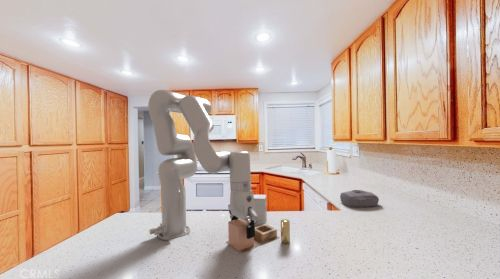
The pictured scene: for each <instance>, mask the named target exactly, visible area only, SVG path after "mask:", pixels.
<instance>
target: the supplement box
mask: <svg viewBox="0 0 500 279" xmlns="http://www.w3.org/2000/svg"><path fill="white" fill-rule="evenodd" d="M253 196H254V202H255V213H256V214H257V215H258V219H257V223H256V225H263V224H266V223H267V221H268V220H267V217H268V216H267V214H268V213H267V194H253ZM249 221H251V220H249Z"/></svg>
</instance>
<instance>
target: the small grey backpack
mask: <svg viewBox="0 0 500 279" xmlns="http://www.w3.org/2000/svg"><path fill="white" fill-rule="evenodd" d="M339 196H340V197H339V198H340V201H341V204H343V205H344V206H346V207H348V208H355V209H361V208H362V209H363V208H364V209H365V208H374V207H378V204H379V200H380V199H379V196H377V194H374V193H373V192H371V191H366V190H361V189H354V190H348V191H344V192H341V193H340V195H339Z"/></svg>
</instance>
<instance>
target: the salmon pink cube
mask: <svg viewBox="0 0 500 279" xmlns="http://www.w3.org/2000/svg"><path fill="white" fill-rule="evenodd" d="M248 221H249V220H248ZM250 222H251V221H249V223H250ZM227 224H228V229H227V230H228V241H229V244H230V245H231V247H232V246H233V247H234V248H235V249H234V248H233V247H232V248H233V249H234V250H236V249H237V250H238V251H240V250H243V249H245V248H248V247H250V246H253V245H254V237H252V238H250V239H247V234H246V227H248V226H247V224H246V222H245V220H242V219H240V218H239V219H236V220H233V221H231V220H230V221H228V223H227ZM229 244H228V245H229ZM230 245H229V246H230ZM237 250H236V251H237ZM238 251H237V252H238Z"/></svg>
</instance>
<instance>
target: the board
mask: <svg viewBox="0 0 500 279" xmlns="http://www.w3.org/2000/svg"><path fill="white" fill-rule="evenodd" d="M279 238H280V239H281V236H278V229H277V228H275V227H273V226H270V225H268V224H267V223H265V224H259V225H258V226H255V237H254V245H253V246H250V247H248V248H245V249H243V250H240V251H238V250H237V249H235V248H234V247H233V246H231V245H230V244H229V240H227V241H225V243H226V244H228V245H229V246H231V247H232V248H233V249H234V250H236V251H237V252H239V254H244V253H245V252H248V251H251V250H253V249H255V248H258V247H260V246H263V245H265V244H267V243H270V242H273V241H275V240H278V239H279Z"/></svg>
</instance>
